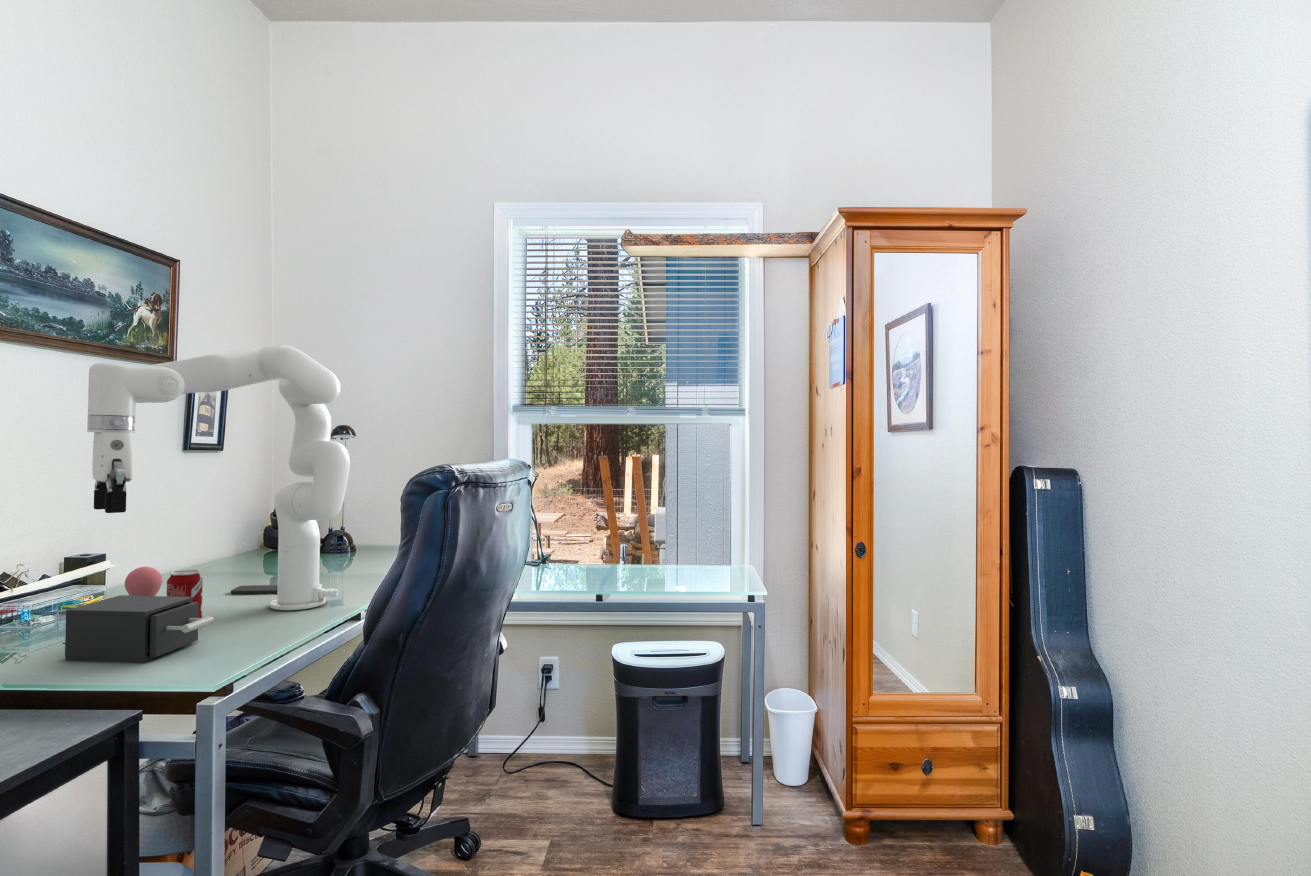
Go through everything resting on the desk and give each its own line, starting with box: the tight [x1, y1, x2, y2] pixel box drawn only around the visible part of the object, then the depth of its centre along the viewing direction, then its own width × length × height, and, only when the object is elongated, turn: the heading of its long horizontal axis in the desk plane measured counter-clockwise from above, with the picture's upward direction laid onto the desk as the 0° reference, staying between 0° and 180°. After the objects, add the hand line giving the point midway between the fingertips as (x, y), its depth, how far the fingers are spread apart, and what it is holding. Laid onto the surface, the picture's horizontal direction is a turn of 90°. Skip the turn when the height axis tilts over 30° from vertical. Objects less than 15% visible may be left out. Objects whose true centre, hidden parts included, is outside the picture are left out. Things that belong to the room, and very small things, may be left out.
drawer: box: [148, 602, 214, 658], centre depth 136 cm, size 19×11×8 cm, turn 88°
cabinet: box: [64, 594, 193, 664], centre depth 136 cm, size 16×13×10 cm
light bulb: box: [124, 566, 163, 596], centre depth 161 cm, size 7×7×12 cm
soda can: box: [165, 569, 204, 618], centre depth 156 cm, size 7×7×12 cm
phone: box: [230, 584, 278, 594], centre depth 191 cm, size 7×1×15 cm
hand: (109, 510), depth 137 cm, fingers open, 9 cm apart
